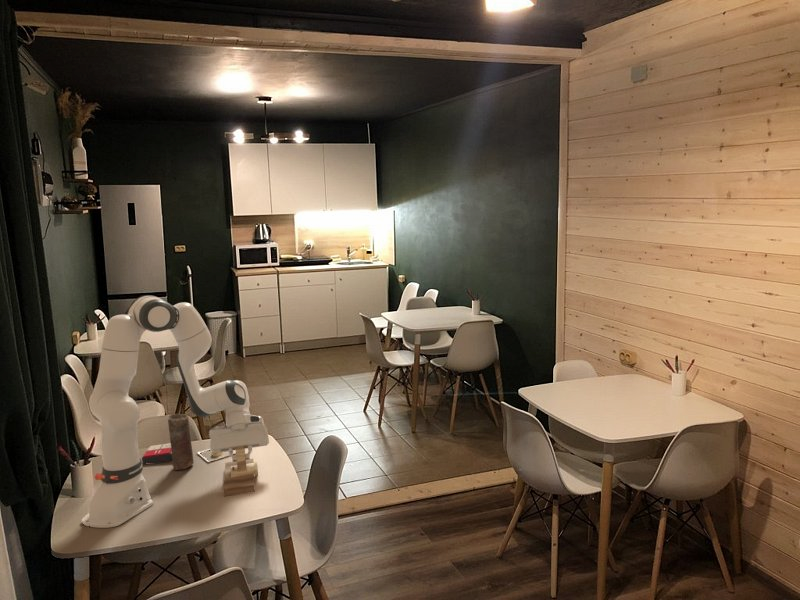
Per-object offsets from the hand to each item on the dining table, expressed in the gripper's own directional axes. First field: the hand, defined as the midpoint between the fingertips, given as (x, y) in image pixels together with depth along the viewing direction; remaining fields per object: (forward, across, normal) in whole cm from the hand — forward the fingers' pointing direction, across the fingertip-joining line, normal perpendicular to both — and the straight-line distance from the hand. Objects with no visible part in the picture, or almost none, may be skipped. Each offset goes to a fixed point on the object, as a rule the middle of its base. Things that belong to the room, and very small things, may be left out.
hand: (241, 460), depth 220 cm
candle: (-9, -22, +20) cm, 31 cm away
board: (+5, -1, +6) cm, 8 cm away
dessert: (-14, -10, +26) cm, 31 cm away
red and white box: (-17, -30, +29) cm, 45 cm away
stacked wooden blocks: (+3, +1, +6) cm, 7 cm away
